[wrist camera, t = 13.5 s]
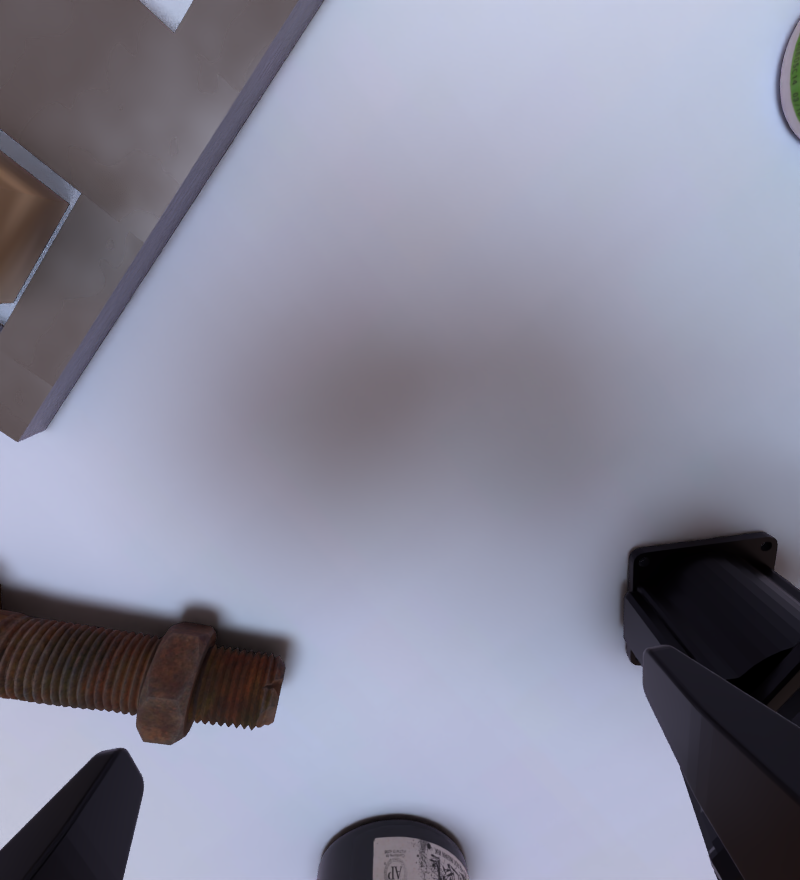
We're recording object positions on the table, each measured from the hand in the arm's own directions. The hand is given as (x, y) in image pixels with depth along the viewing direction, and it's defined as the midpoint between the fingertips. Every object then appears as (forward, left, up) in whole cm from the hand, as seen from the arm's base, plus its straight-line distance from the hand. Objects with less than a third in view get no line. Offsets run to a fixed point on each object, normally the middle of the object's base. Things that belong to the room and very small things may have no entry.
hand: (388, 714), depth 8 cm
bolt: (+14, +8, -13) cm, 20 cm away
